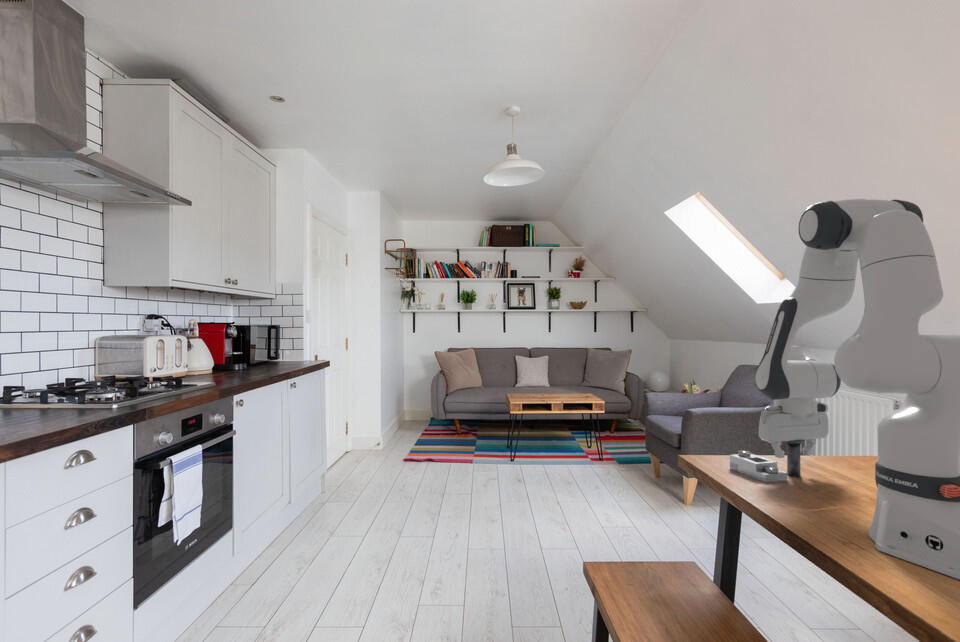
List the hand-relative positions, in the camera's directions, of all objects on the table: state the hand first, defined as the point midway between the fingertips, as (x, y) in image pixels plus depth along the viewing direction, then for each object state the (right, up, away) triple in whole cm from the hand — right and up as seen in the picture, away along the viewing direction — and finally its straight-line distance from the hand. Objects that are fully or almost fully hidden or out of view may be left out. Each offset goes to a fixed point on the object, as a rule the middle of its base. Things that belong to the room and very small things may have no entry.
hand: (793, 456), depth 125 cm
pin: (0, -5, 0) cm, 5 cm away
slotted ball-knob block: (-10, -5, +1) cm, 11 cm away
